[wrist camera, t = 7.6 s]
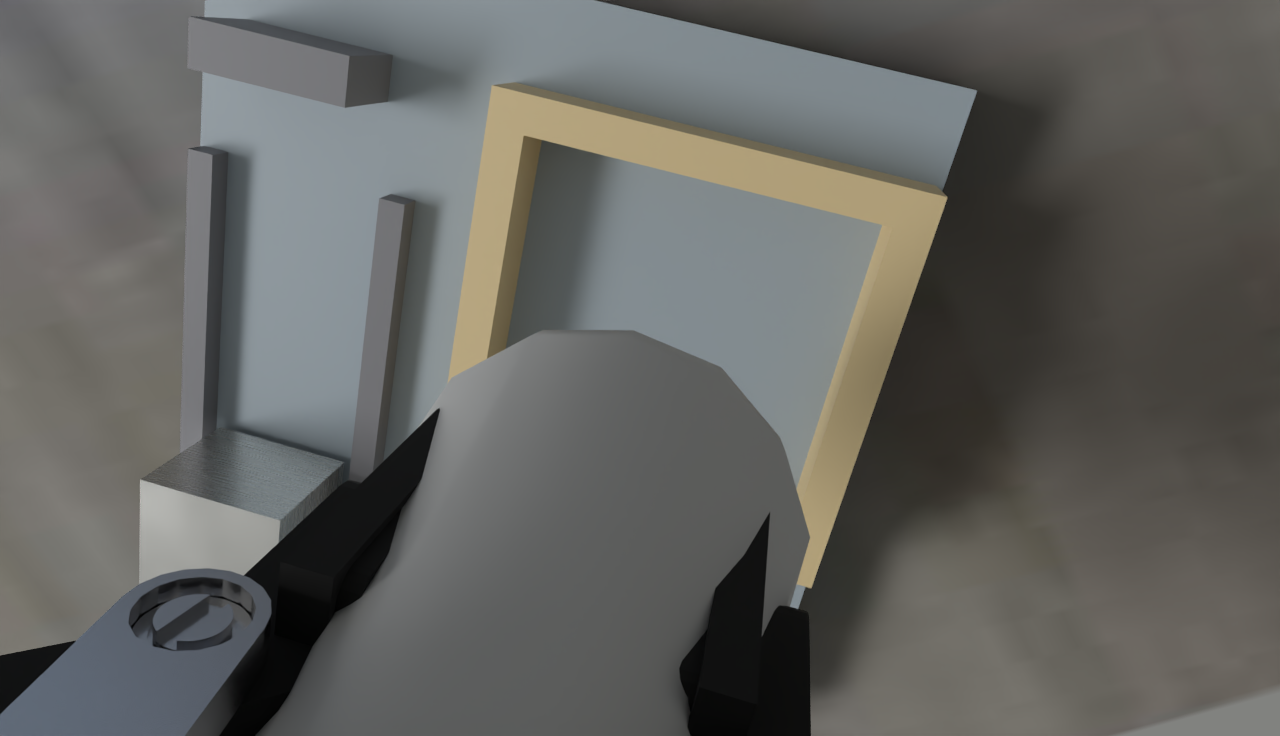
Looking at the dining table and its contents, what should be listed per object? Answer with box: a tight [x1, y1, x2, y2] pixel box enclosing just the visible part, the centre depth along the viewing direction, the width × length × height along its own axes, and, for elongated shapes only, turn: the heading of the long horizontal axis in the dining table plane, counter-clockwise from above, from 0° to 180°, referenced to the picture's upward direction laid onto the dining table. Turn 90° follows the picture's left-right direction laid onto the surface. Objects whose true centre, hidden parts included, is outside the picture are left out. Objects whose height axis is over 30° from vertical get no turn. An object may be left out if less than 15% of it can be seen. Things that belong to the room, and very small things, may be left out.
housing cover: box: [139, 427, 344, 584], centre depth 22 cm, size 5×3×3 cm
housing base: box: [180, 0, 977, 609], centre depth 21 cm, size 17×16×4 cm
